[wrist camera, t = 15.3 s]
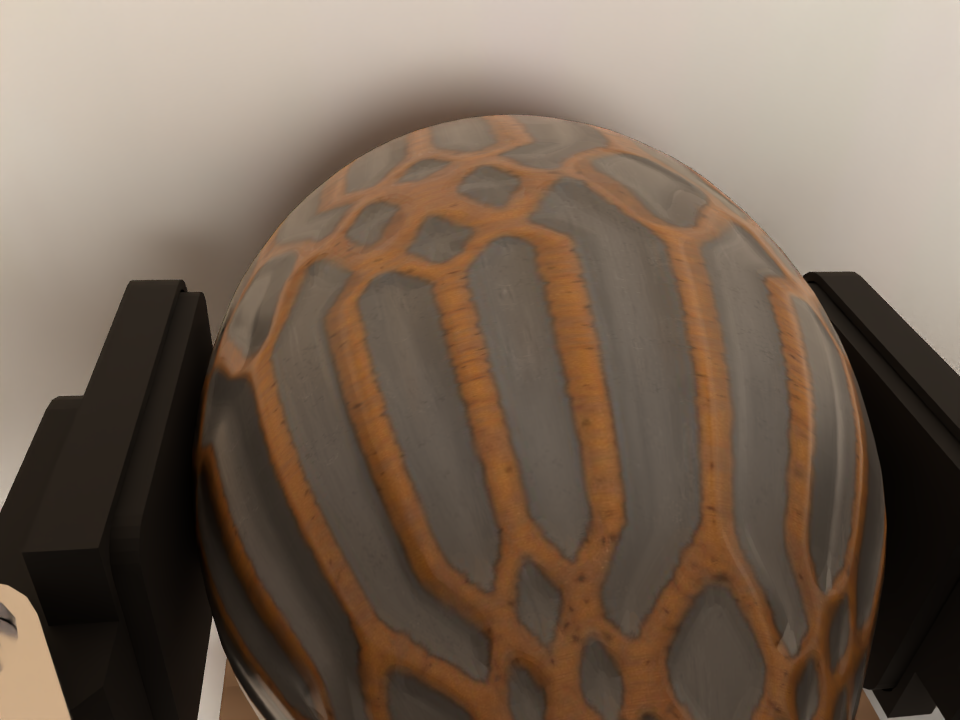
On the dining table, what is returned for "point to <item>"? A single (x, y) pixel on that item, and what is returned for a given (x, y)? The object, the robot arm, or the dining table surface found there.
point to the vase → (534, 448)
